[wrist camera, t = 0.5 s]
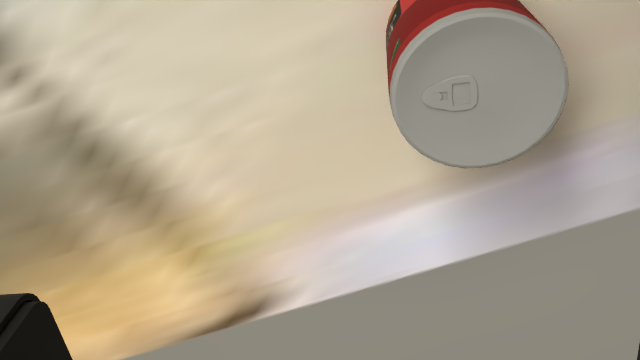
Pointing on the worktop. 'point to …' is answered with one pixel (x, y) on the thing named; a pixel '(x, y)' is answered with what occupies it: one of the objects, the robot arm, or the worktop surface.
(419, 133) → the canned food
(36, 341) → the robot arm
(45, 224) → the worktop surface
